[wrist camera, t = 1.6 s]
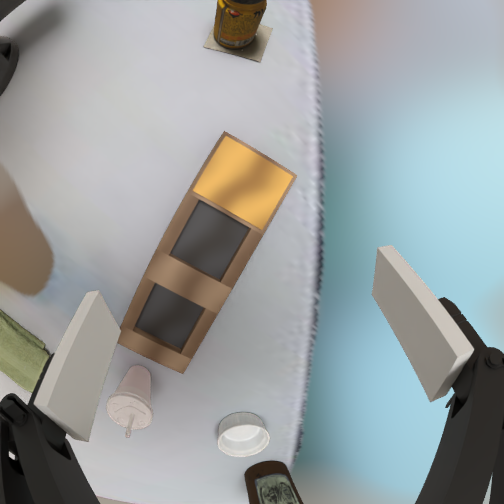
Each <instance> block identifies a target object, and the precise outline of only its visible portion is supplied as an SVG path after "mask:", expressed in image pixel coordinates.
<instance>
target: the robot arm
mask: <svg viewBox="0 0 504 504" xmlns="http://www.w3.org/2000/svg"><path fill="white" fill-rule="evenodd" d="M24 1H26V0H0V21H1V20H2V19H4V18H5V17H6V16H7V15H8V14H9V13H11V12H12V11H13V10H14V9H15V8H17V7H18V6H19V5H20V4H22V3H23V2H24ZM17 61H18V47H17V45H16V43H15V42H13V41H12V40H11V39H10V38H8V37H4V36H0V95H1V94H2V92H3V91H4V89H5V88H6V86H7V85H8V83H9V81H10V79H11V77H12V75H13V73H14V70H15V68H16V65H17ZM372 296H373V297H374V299H375V301H376V302H377V304H378V306H379V307H380V309H381V311H382V312H383V314H384V316H385V318H386V319H387V321H388V323H389V324H390V326H391V328H392V330H393V331H394V333H395V335H396V337H397V339H398V340H399V342H400V344H401V346H402V348H403V350H404V352H405V353H406V355H407V357H408V359H409V360H410V363H411V365H412V366H413V369H414V370H415V372H416V374H417V376H418V378H419V380H420V382H421V384H422V386H423V388H424V390H425V392H426V394H427V396H428V399H429V400H430V402H432V401H434V400H436V399H438V398H441V397H443V396H445V395H446V394H447V393H448V391H449V390H450V388H451V387H452V388H453V390H454V392H455V393H454V394H453V396H452V398H451V399H450V400H449V401H448V403H447V405H446V407H445V408H448V407H449V405H450V404H451V405H450V410H449V413H448V417H447V421H446V424H445V428H444V431H443V434H442V438H441V441H440V444H439V447H438V450H437V452H436V455H435V458H434V461H433V463H432V466H431V469H430V471H429V474H428V476H427V478H426V481H425V483H424V486H423V488H422V490H421V492H420V494H419V496H418V499H417V501H416V503H415V504H483V501H484V498H485V495H486V492H487V489H488V486H489V482H490V479H491V476H492V485H491V494H490V501H489V504H504V354H503V353H502V352H501V351H500V350H499V349H496V348H494V347H487V346H486V345H485V344H484V342H483V341H482V339H481V338H480V337H479V335H478V334H477V332H476V331H475V330H474V329H473V327H472V326H471V324H470V323H469V322H468V321H466V320H467V319H466V318H465V317H464V315H463V314H461V311H460V310H459V309H458V308H457V306H456V305H455V304H454V303H453V302H451V301H450V300H448V299H447V298H445V297H443V298H440V299H437V298H436V297H435V295H434V294H433V293H432V292H431V290H430V289H429V288H428V287H427V285H426V284H425V283H424V282H423V281H422V279H421V278H420V277H419V276H418V275H417V273H416V272H415V271H414V270H413V269H412V268H411V266H410V265H409V264H408V263H407V262H406V261H405V259H403V257H402V256H401V255H400V254H399V253H398V252H397V251H396V249H394V247H393V246H392V245H389V246H384V247H378V248H377V258H376V266H375V275H374V283H373V290H372ZM120 333H121V330H120V328H119V326H118V325H117V323H116V321H115V319H114V318H113V316H112V314H111V312H110V310H109V308H108V306H107V304H106V303H105V301H104V299H103V297H102V295H101V293H100V291H99V290H98V291H91V292H87V293H86V295H85V297H84V298H83V300H82V302H81V304H80V306H79V307H78V309H77V311H76V313H75V315H74V317H73V318H72V320H71V322H70V324H69V326H68V328H67V330H66V332H65V334H64V336H63V338H62V340H61V342H60V344H59V346H58V348H57V350H56V352H55V353H53V354H52V355H51V356H50V357H49V359H48V360H47V361H46V363H45V365H44V367H43V370H42V371H43V372H41V374H40V376H39V379H38V381H37V383H36V386H35V388H34V390H33V393H32V395H31V398H30V400H29V403H28V405H26V404H25V403H24V402H23V401H22V400H21V399H20V398H19V397H18V396H17V395H16V394H13V393H10V394H8V395H6V396H5V397H4V398H3V399H2V400H1V402H0V504H100V502H99V501H98V499H97V497H96V495H95V494H94V492H93V490H92V488H91V487H90V485H89V483H88V481H87V479H86V477H85V475H84V473H83V471H82V469H81V467H80V465H79V463H78V461H77V459H76V457H75V454H74V452H73V450H72V448H71V445H70V443H69V441H68V440H67V439H66V438H65V437H66V433H67V434H69V435H70V436H71V437H72V438H74V439H76V440H81V441H86V442H89V438H90V433H91V429H92V425H93V421H94V417H95V413H96V410H97V406H98V402H99V399H100V395H101V392H102V388H103V385H104V382H105V378H106V375H107V372H108V369H109V365H110V362H111V359H112V356H113V353H114V350H115V347H116V344H117V341H118V338H119V336H120ZM9 451H10V452H11V453H12V454H14V455H15V460H13V459H12V458H10V457H9ZM492 472H493V474H492Z"/></svg>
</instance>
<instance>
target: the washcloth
mask: <svg viewBox="0 0 504 504" xmlns="http://www.w3.org/2000/svg"><path fill="white" fill-rule="evenodd" d="M44 347H45V344H44V343H43V342H42V341H41V340H39V339H38V338H36V337H35V336H34V335H32V334H30V333H29V332H28V331H27V330H25V329H24V328H22V327H21V326H20V325H19V324H17V323H16V322H15V321H14V320H12V319H11V318H10V317H8V316H7V315H6V314H4V312H2V311H1V310H0V370H1V371H2V372H3V373H5V374H6V375H7V376H8V377H10V378H11V379H12V380H13V381H14V382H15V383H17V384H18V385H19V386H20V387H22V388H23V389H25V390H27V391H29V392H31V393H33V390H34V388H35V386H36V383H37V381H38V379H39V376H40V374H41V372H43V371H42V370H43V367H44V365H45V363H46V361H47V360H48V358H49V355H48V354H47V352H46V351H45V350H43V349H44Z"/></svg>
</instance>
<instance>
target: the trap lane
mask: <svg viewBox="0 0 504 504" xmlns="http://www.w3.org/2000/svg"><path fill="white" fill-rule="evenodd" d="M296 177H297V175H296V174H294V173H293V172H291V171H290V170H288V169H287V168H285V167H283V166H282V165H280V164H279V163H277V162H276V161H274V160H272V159H271V158H269V157H268V156H266V155H264V154H263V153H261V152H259V151H258V150H256V149H254V148H253V147H251V146H249V145H248V144H246V143H244V142H243V141H241V140H239V139H237V138H236V137H234V136H232V135H230V134H229V133H227V132H225V131H224V132H223V134H222V135H221V137H220V138H219V140H218V142H217V143H216V145H215V146H214V148H213V150H212V151H211V153H210V154H209V156H208V158H207V159H206V161H205V163H204V164H203V166H202V168H201V169H200V171H199V173H198V174H197V176H196V178H195V179H194V181H193V183H192V185H191V186H190V188H189V190H188V192H187V193H186V195H185V197H184V199H183V200H182V202H181V204H180V206H179V208H178V209H177V211H176V213H175V215H174V217H173V219H172V220H171V222H170V224H169V226H168V228H167V230H166V232H165V234H164V236H163V238H162V239H161V241H160V243H159V245H158V247H157V249H156V251H155V253H154V255H153V257H152V259H151V261H150V263H149V265H148V267H147V269H146V272H145V274H144V276H143V278H142V280H141V282H140V284H139V286H138V288H137V291H136V293H135V295H134V297H133V299H132V302H131V304H130V306H129V308H128V311H127V313H126V315H125V317H124V320H123V322H122V324H121V327H120V330H121V333H120V336H119V338H118V341H117V343H119V344H121V345H122V346H124V347H126V348H128V349H130V350H132V351H134V352H136V353H138V354H140V355H142V356H144V357H146V358H149V359H151V360H153V361H155V362H157V363H159V364H161V365H164V366H166V367H168V368H170V369H173V370H175V371H177V372H180V373H182V374H183V373H184V371H185V370H186V368H187V366H188V365H189V363H190V361H191V359H192V358H193V356H194V354H195V352H196V351H197V349H198V347H199V346H200V344H201V342H202V340H203V339H204V337H205V335H206V333H207V332H208V330H209V328H210V326H211V325H212V323H213V321H214V320H215V318H216V316H217V314H218V313H219V311H220V309H221V307H222V306H223V304H224V302H225V300H226V299H227V297H228V295H229V293H230V292H231V290H232V288H233V287H234V285H235V283H236V281H237V280H238V278H239V276H240V274H241V273H242V271H243V269H244V267H245V266H246V264H247V262H248V260H249V259H250V257H251V255H252V254H253V252H254V250H255V248H256V247H257V245H258V243H259V241H260V240H261V238H262V236H263V234H264V233H265V231H266V229H267V227H268V226H269V224H270V222H271V221H272V219H273V217H274V215H275V214H276V212H277V210H278V208H279V207H280V205H281V203H282V201H283V200H284V198H285V196H286V194H287V193H288V191H289V189H290V187H291V186H292V184H293V182H294V180H295V179H296Z"/></svg>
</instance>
